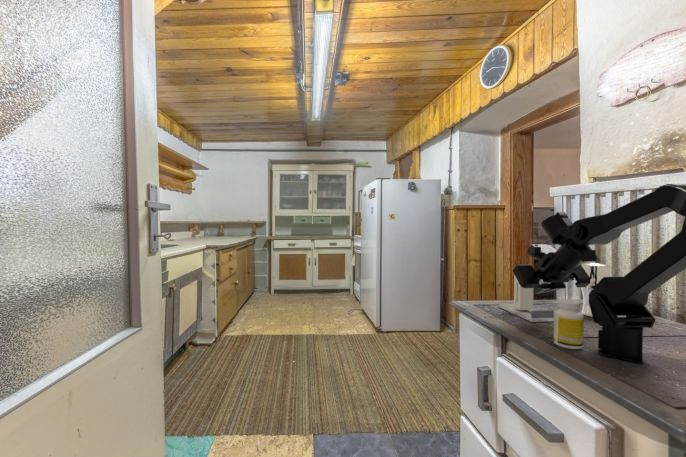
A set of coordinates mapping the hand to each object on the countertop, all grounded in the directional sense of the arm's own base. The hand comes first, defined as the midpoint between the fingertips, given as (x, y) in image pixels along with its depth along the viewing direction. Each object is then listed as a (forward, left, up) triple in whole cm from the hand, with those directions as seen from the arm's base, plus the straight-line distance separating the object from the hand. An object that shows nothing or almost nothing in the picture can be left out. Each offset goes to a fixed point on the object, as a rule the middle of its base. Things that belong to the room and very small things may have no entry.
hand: (535, 292), depth 92 cm
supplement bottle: (-10, +18, -7) cm, 22 cm away
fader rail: (+3, -3, -7) cm, 8 cm away
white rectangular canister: (+4, -3, -6) cm, 8 cm away
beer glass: (-12, -16, -7) cm, 21 cm away
